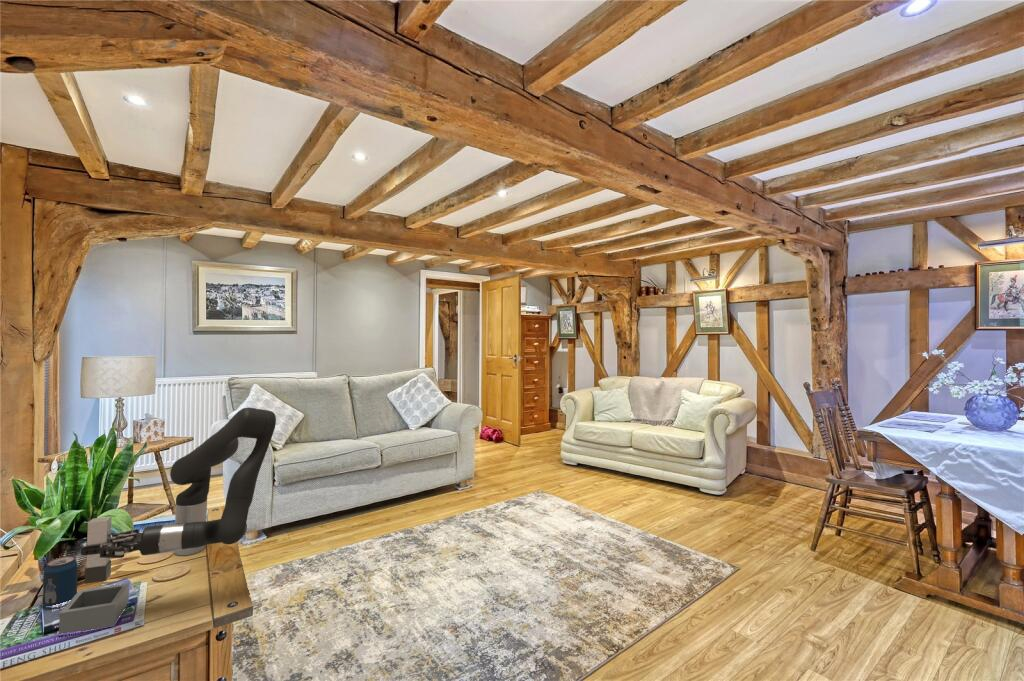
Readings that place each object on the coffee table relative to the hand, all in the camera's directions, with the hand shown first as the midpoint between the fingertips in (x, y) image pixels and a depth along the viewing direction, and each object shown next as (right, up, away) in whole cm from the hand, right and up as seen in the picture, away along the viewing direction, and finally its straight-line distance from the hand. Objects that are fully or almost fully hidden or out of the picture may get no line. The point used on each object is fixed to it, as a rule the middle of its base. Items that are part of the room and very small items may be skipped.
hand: (85, 548), depth 121 cm
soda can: (-15, -19, +8) cm, 25 cm away
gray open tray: (+2, -20, +1) cm, 20 cm away
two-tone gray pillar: (+2, -9, +1) cm, 9 cm away
